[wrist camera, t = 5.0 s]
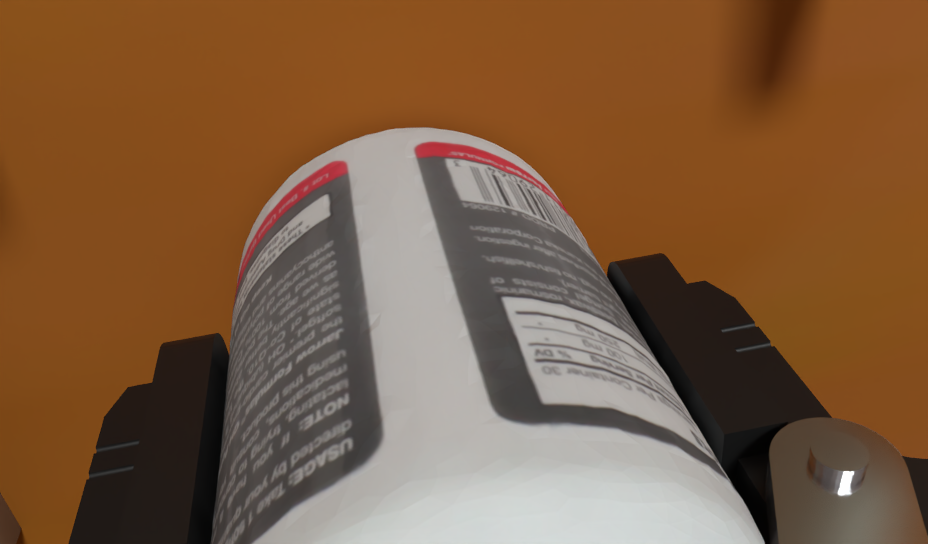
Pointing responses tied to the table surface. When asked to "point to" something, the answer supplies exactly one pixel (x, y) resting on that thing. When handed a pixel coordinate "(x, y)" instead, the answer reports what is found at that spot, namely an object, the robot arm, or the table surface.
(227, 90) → the table surface
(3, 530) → the bar
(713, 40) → the table surface
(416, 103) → the table surface
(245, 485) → the pill bottle
